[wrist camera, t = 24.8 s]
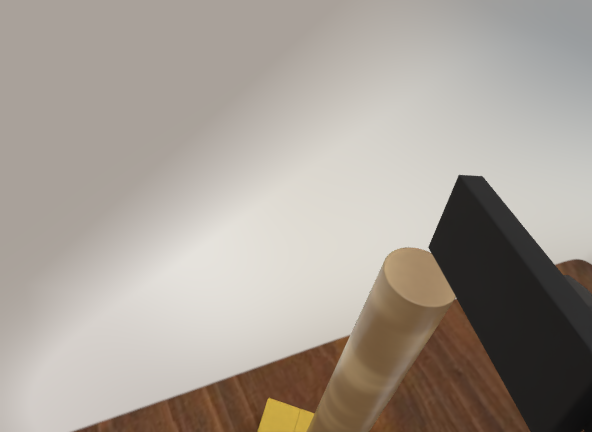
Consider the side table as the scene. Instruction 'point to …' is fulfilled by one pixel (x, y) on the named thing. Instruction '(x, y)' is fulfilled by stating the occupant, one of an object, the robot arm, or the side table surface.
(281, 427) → the socket block
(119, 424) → the side table surface
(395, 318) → the dowel
